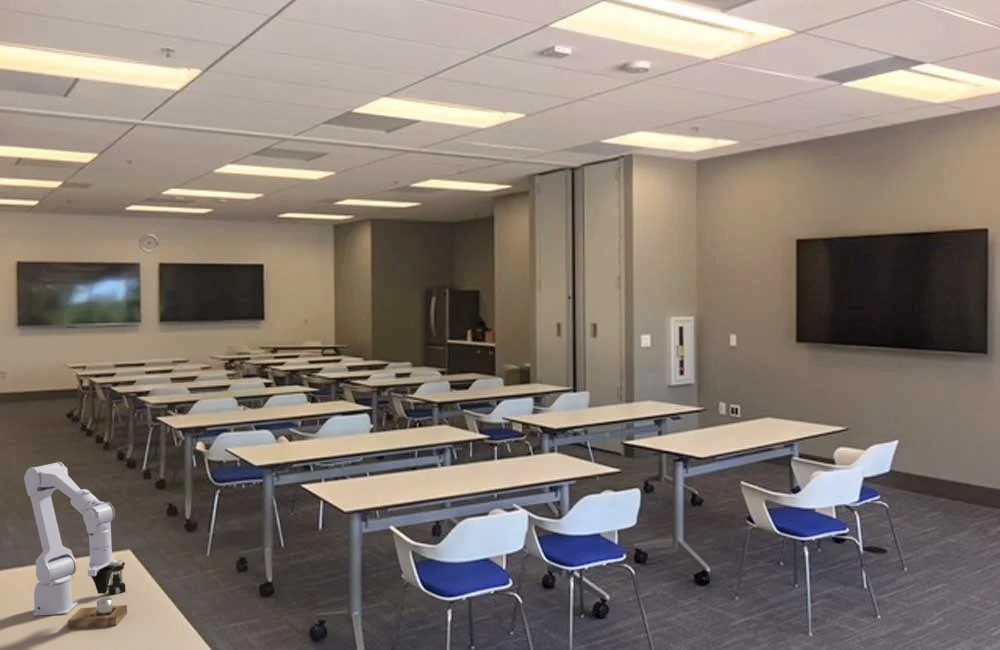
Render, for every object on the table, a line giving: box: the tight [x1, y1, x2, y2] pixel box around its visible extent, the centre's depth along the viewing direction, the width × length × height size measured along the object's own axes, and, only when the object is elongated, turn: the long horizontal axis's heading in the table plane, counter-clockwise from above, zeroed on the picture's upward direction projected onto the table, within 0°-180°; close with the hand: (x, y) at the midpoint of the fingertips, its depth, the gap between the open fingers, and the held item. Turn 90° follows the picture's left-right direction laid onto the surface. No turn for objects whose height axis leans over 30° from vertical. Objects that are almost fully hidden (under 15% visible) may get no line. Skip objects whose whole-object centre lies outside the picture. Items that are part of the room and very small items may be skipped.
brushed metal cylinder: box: [96, 597, 113, 616], centre depth 235 cm, size 4×4×6 cm
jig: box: [67, 604, 128, 630], centre depth 235 cm, size 13×9×2 cm
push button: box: [102, 559, 127, 596], centre depth 257 cm, size 7×5×10 cm
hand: (102, 592), depth 235 cm, fingers closed
